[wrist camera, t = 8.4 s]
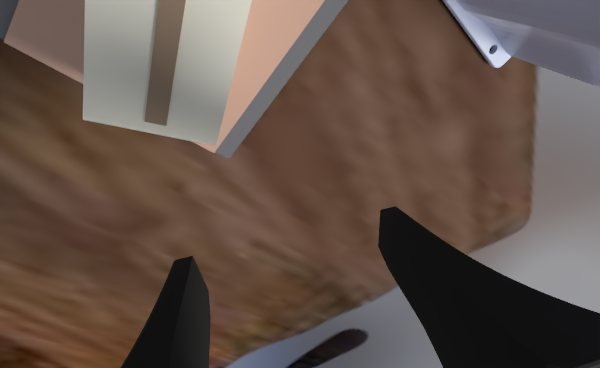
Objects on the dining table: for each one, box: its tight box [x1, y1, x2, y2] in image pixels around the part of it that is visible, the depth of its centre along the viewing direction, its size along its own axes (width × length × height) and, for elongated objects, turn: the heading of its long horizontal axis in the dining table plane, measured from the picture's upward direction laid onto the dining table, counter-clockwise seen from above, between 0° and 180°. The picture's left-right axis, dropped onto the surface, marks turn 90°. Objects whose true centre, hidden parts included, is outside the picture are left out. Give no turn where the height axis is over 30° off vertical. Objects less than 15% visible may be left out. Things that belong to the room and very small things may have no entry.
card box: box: [83, 0, 252, 146], centre depth 13 cm, size 8×5×4 cm, turn 160°
